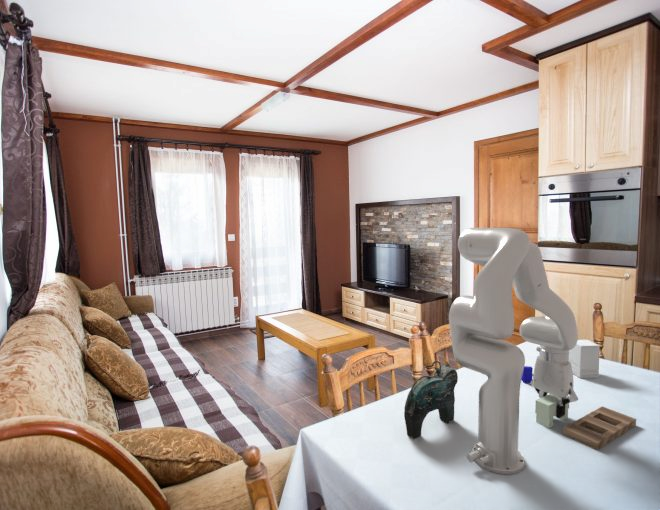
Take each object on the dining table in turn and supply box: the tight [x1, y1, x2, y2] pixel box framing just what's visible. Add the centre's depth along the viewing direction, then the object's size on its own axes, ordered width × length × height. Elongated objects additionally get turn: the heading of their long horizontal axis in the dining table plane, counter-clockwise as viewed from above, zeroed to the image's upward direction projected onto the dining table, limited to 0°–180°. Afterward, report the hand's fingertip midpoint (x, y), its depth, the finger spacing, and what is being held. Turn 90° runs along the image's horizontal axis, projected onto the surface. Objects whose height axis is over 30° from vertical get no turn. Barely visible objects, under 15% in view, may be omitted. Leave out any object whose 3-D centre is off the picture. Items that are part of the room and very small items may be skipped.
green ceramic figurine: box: [403, 360, 459, 440], centre depth 115 cm, size 20×6×20 cm, turn 123°
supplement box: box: [569, 339, 601, 379], centre depth 149 cm, size 7×7×13 cm
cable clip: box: [521, 365, 534, 384], centre depth 149 cm, size 12×4×6 cm, turn 170°
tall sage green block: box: [534, 393, 570, 429], centre depth 118 cm, size 11×4×7 cm, turn 120°
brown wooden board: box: [562, 406, 637, 451], centre depth 112 cm, size 22×9×2 cm, turn 120°
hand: (552, 412), depth 118 cm, fingers closed on tall sage green block, 4 cm apart
